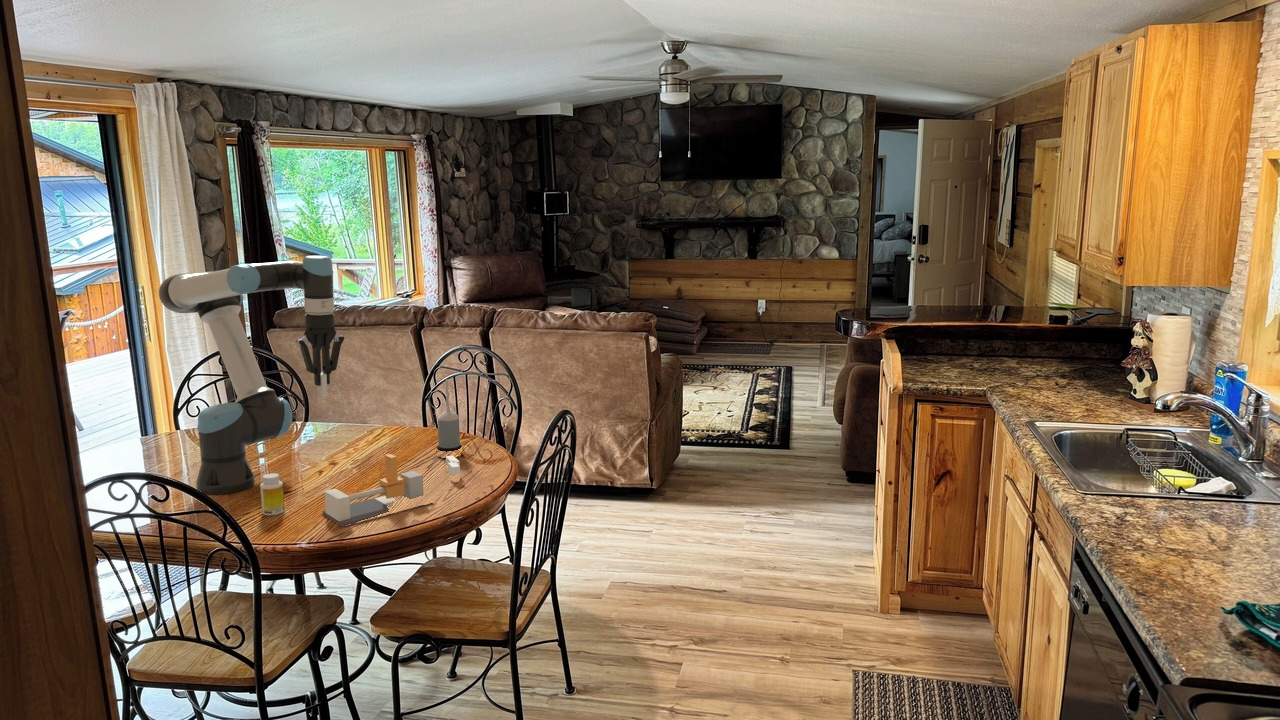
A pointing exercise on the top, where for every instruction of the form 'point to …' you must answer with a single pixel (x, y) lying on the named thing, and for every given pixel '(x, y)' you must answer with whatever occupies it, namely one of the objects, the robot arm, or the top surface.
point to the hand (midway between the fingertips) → (322, 396)
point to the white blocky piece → (452, 465)
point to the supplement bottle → (272, 495)
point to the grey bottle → (448, 428)
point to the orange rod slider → (392, 478)
